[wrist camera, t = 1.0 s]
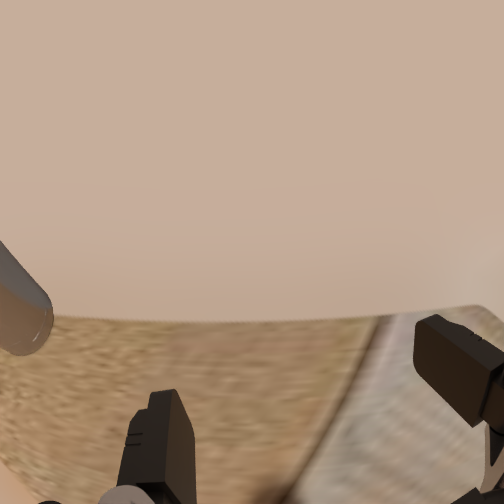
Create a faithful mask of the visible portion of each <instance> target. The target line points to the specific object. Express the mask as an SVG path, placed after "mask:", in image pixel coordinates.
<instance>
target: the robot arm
mask: <svg viewBox="0 0 504 504" xmlns="http://www.w3.org/2000/svg"><path fill="white" fill-rule="evenodd" d="M52 324H53V307H52V304H51V301H50V299H49V297H48V295H47V294H46V292H45V291H44V290H43V289H42V288H41V287H40V286H39V285H38V284H37V283H36V282H35V280H34V279H33V278H32V277H31V276H30V275H29V274H28V273H27V271H26V270H25V269H24V268H23V267H22V266H21V265H20V264H19V262H18V261H17V260H16V259H15V258H14V256H13V255H12V254H11V253H10V252H9V250H8V249H7V248H6V247H5V246H4V244H3V243H2V242H1V241H0V348H2V349H4V350H6V351H8V352H10V353H12V354H14V355H18V356H25V355H28V354H32V353H33V352H35V351H36V350H38V349H39V348H40V347H41V346H42V345H43V344H44V342H45V341H46V339H47V338H48V336H49V333H50V331H51V328H52ZM413 363H414V367H415V369H416V371H417V373H418V374H419V375H420V376H421V377H422V378H423V379H424V380H425V381H426V382H427V383H428V384H429V385H430V386H431V387H432V388H433V389H434V390H435V391H436V392H437V393H438V394H439V395H440V396H441V397H442V398H443V399H444V400H445V401H446V402H447V403H448V404H449V405H450V406H451V407H452V408H453V409H454V410H455V411H456V412H457V413H458V414H459V415H460V416H461V417H462V418H463V419H464V420H465V421H466V422H467V423H468V424H469V425H470V426H471V427H472V428H473V427H475V426H476V425H478V424H479V423H480V422H482V421H483V420H484V421H486V422H487V424H486V427H485V475H484V479H483V482H482V485H481V488H480V491H478V489H477V488H476V487H475V488H474V489H472V490H471V491H469V492H468V493H466V494H465V495H464V496H462V497H461V498H459V499H457V500H456V501H454V502H453V503H451V504H504V352H503V351H501V350H500V349H498V348H497V347H495V346H494V345H492V344H491V343H489V342H488V341H486V340H485V339H482V337H480V336H479V335H477V334H474V332H472V331H471V330H469V329H468V328H466V327H465V326H462V325H459V324H456V323H452V322H449V321H447V320H446V319H444V318H443V317H441V316H440V315H438V314H434V315H432V316H430V317H427V318H425V319H422V320H420V321H418V322H417V323H416V326H415V338H414V352H413ZM127 435H128V437H126V442H125V447H124V451H123V456H122V460H121V465H120V470H119V475H118V480H117V485H116V487H114V488H112V489H110V490H108V491H107V492H106V493H105V494H104V495H103V496H102V497H101V498H100V500H99V502H98V504H197V499H196V470H195V437H194V432H193V428H192V425H191V422H190V420H189V418H188V415H187V413H186V411H185V409H184V406H183V404H182V402H181V399H180V397H179V395H178V393H177V391H176V390H175V389H170V390H164V391H157V392H152V393H151V394H150V398H149V403H148V408H147V409H142V410H138V412H137V413H136V414H135V416H134V417H133V418H132V420H131V421H130V424H129V429H128V433H127ZM39 504H61V503H59V502H56V501H44V502H41V503H39Z"/></svg>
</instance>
